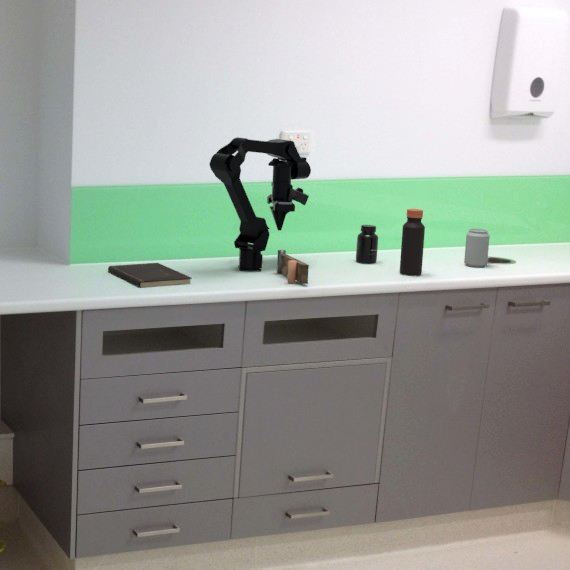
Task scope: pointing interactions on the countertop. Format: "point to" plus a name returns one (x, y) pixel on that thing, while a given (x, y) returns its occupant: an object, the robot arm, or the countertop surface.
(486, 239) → the can
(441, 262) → the countertop surface
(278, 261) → the hinge post
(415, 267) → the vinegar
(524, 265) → the countertop surface
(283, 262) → the brown long plank slab
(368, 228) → the supplement bottle
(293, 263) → the catch post
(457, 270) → the countertop surface
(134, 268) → the hardcover book
